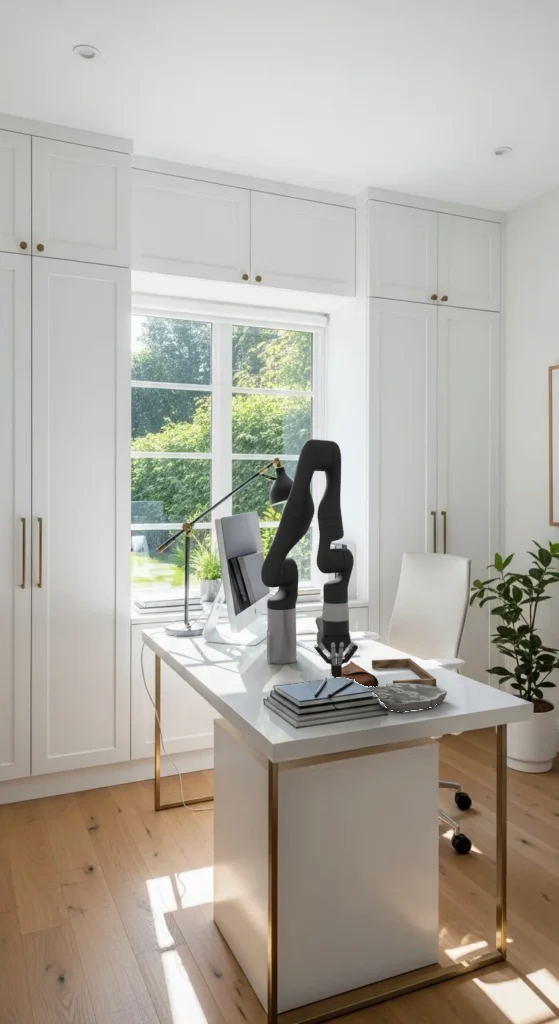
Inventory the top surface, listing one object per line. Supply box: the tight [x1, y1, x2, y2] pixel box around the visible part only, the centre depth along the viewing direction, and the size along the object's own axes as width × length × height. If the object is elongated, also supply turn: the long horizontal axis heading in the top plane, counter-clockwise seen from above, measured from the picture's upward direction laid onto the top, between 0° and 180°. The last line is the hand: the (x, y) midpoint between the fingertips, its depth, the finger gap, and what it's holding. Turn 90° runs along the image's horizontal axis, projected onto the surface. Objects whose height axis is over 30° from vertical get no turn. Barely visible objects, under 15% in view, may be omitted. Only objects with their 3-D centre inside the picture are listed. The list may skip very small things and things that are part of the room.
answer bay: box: [371, 657, 437, 687], centre depth 207 cm, size 12×24×2 cm, turn 7°
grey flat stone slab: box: [372, 682, 448, 712], centre depth 183 cm, size 20×17×3 cm
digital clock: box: [314, 615, 351, 648], centre depth 252 cm, size 16×9×11 cm, turn 131°
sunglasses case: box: [340, 660, 379, 687], centre depth 205 cm, size 18×7×7 cm, turn 17°
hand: (336, 677), depth 204 cm, fingers closed
